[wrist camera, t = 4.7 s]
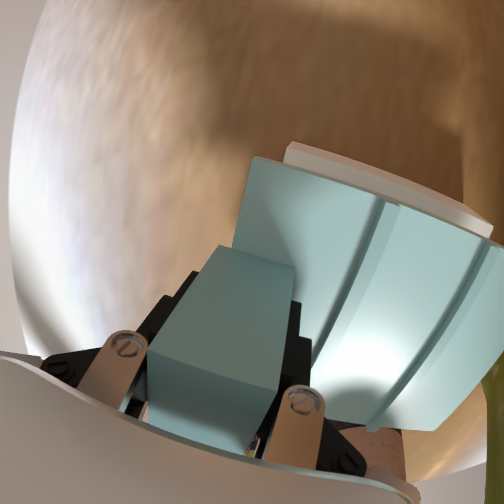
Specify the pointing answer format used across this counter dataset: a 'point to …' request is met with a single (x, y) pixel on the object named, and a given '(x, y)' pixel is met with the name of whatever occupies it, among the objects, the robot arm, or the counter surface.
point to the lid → (329, 312)
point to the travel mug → (376, 446)
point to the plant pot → (495, 432)
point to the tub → (385, 185)
